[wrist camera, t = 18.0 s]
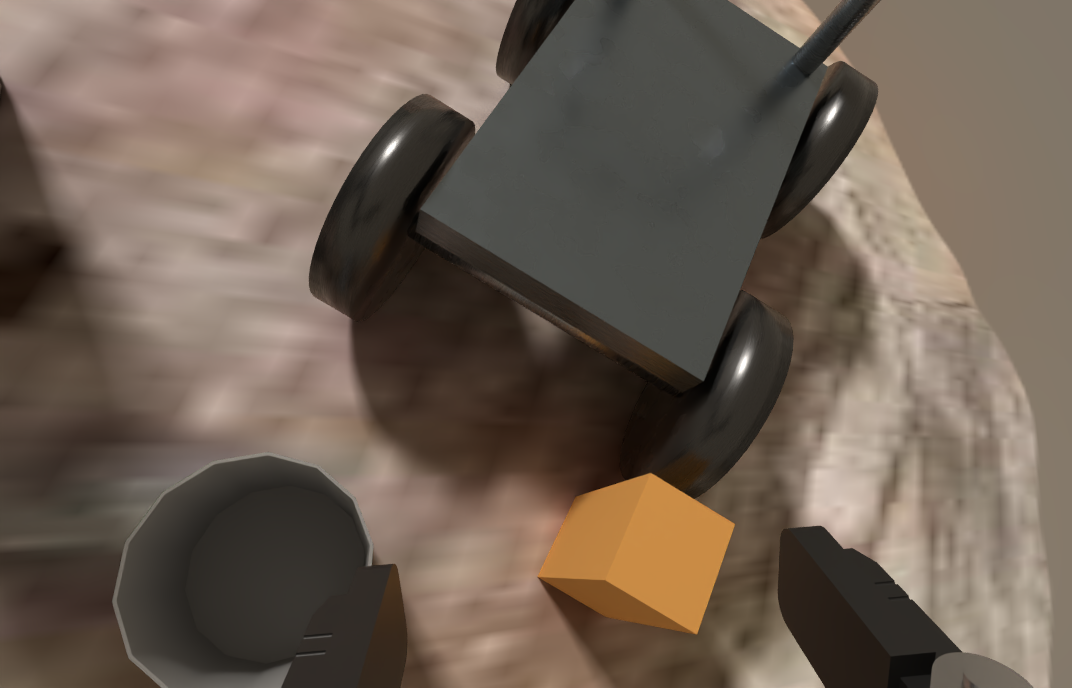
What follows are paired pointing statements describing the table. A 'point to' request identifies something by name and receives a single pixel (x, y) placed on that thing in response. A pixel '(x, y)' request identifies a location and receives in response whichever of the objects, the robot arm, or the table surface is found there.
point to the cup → (236, 571)
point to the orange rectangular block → (640, 553)
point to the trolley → (620, 201)
